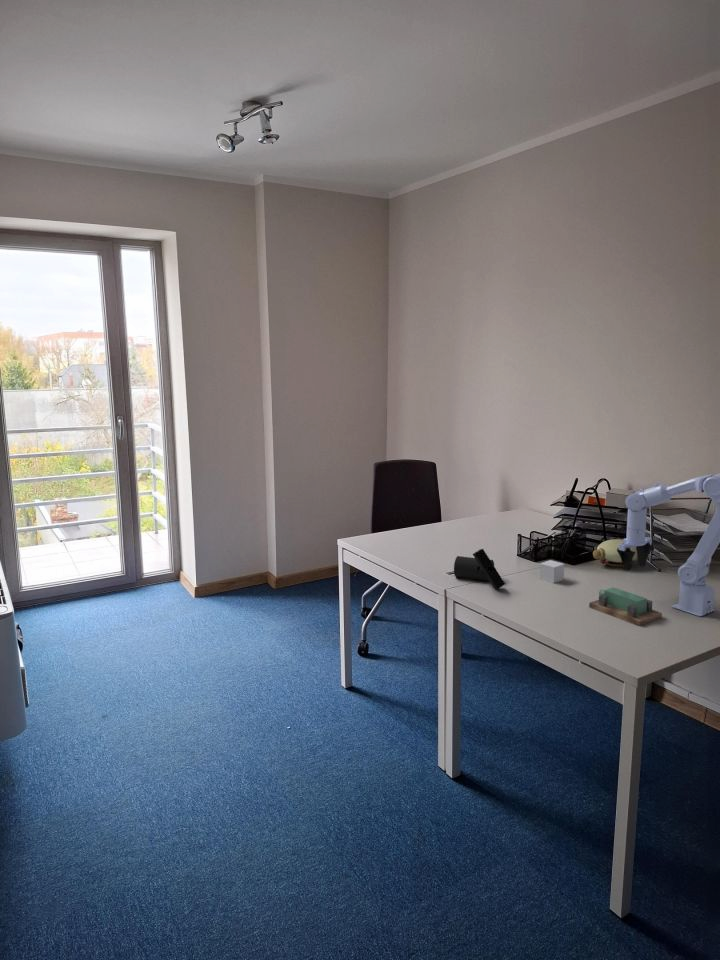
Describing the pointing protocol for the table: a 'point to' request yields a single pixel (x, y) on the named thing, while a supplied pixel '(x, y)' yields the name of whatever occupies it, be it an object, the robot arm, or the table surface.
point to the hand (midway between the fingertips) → (634, 567)
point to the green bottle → (624, 600)
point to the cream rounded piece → (611, 552)
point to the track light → (478, 568)
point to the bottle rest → (627, 616)
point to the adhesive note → (551, 571)
